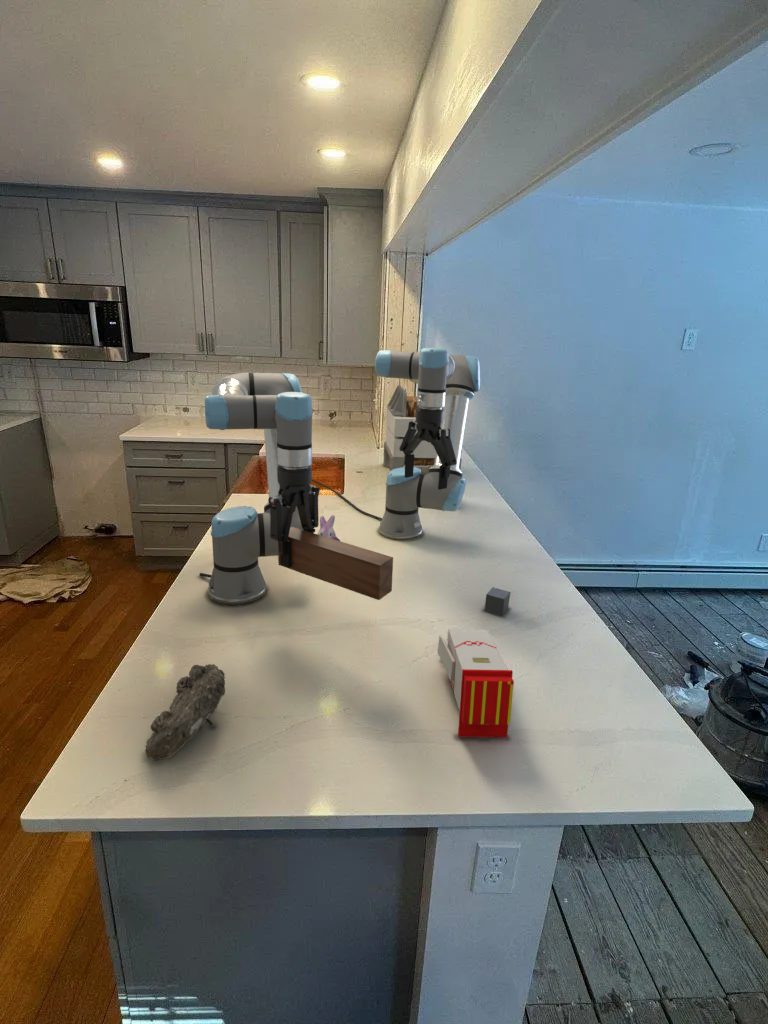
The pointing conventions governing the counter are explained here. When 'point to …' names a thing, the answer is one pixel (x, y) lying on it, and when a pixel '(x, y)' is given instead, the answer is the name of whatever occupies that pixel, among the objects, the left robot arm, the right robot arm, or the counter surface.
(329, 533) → the figurine
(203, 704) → the fossil
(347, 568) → the plank
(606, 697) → the counter surface
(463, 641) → the toy
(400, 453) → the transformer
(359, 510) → the right robot arm
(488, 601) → the grey block
